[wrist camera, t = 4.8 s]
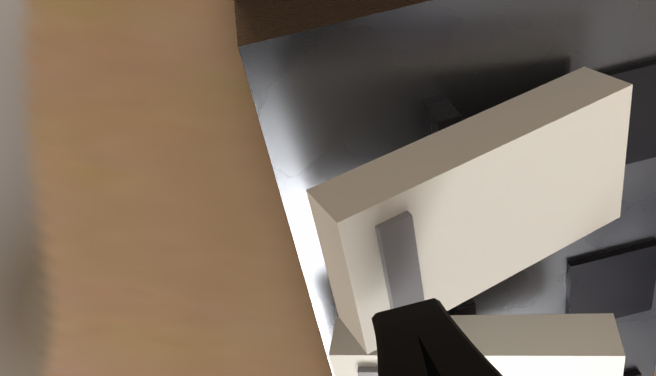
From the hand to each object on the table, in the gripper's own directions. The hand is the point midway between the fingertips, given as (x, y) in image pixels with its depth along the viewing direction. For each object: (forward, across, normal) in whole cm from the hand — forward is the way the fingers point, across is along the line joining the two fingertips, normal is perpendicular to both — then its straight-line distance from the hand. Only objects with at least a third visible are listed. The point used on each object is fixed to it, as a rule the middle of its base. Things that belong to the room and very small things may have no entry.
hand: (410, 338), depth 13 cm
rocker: (+4, -2, 0) cm, 5 cm away
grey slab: (+10, -4, +8) cm, 13 cm away
